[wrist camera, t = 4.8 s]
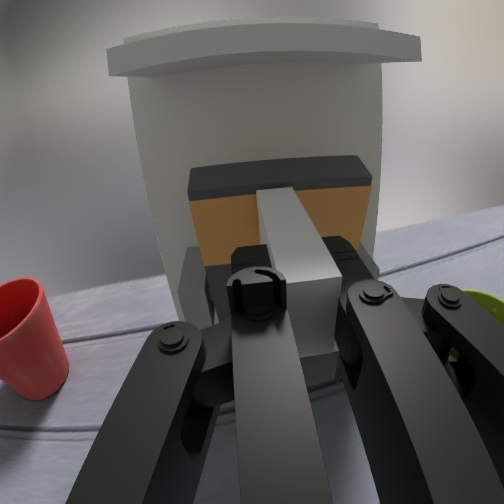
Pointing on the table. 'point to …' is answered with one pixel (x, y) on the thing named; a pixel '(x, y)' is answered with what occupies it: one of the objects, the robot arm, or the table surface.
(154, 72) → the box
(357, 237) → the breaker switch
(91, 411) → the table surface
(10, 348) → the flower pot
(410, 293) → the table surface
